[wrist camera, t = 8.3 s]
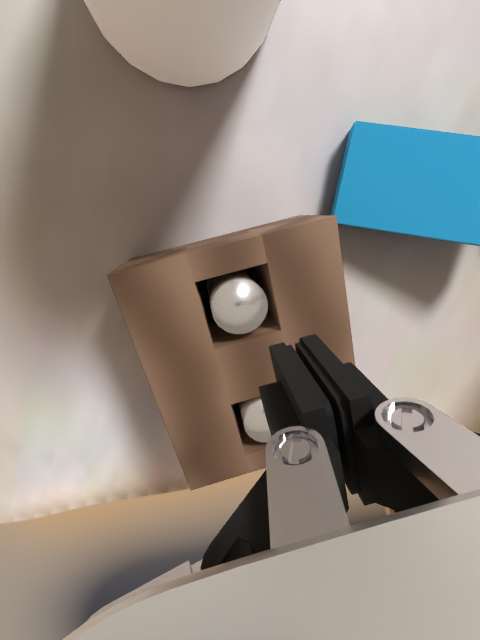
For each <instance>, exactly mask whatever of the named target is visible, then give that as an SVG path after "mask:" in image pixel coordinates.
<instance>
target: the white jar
mask: <svg viewBox="0 0 480 640" xmlns="http://www.w3.org/2000/svg"><path fill="white" fill-rule="evenodd" d="M83 1H84V2H85V4H86V6H87V8H88V10H89V11H90V13H91V15H92V17H93V18H94V20H95V22H96V24H97V26H98V27H99V29H100V31H101V33H102V34H103V36H104V38H105V39H106V40H107V41H108V42H109V43H110V44H111V45H112V46H113V47H114V48H115V49H116V50H117V51H118V52H119V53H120V54H121V55H122V56H123V57H124V58H125V59H126V60H127V62H128V63H129V64H131V65H132V66H134V67H136V68H137V69H139V70H141V71H143V72H144V73H146V74H148V75H150V76H151V77H153V78H155V79H157V80H158V81H161V82H166V83H171V84H176V85H181V86H187V87H193V86H199V85H205V84H210V83H216V82H219V81H221V80H223V79H224V78H226V77H227V76H229V75H231V74H232V73H234V72H236V71H237V70H239V69H241V68H242V67H244V65H245V64H246V63H247V62H248V61H249V59H250V58H251V57H252V56H253V54H254V53H255V52H256V51H257V49H258V48H259V47H260V46H261V44H262V43H263V42H264V40H265V37H266V35H267V32H268V30H269V27H270V25H271V23H272V20H273V18H274V15H275V13H276V10H277V8H278V6H279V3H280V1H281V0H83Z"/></svg>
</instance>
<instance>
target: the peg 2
mask: <svg viewBox="0 0 480 640" xmlns="http://www.w3.org/2000/svg"><path fill="white" fill-rule="evenodd" d="M238 403H239V407H240V411H241V415H242V419H243V424H244V428H245V431H246V433H247V434H248V436H249V437H251V438H252V439H253V440H255V441H258V442H268V441H269V439H270V438H271V433H270V430H269V427H268V423H267V420H266V416H265V412H264V408H263V404H262V401H261V397H260V396H259V397H256V398H252V399H249V400H245V401H242V402H238Z"/></svg>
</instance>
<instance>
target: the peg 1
mask: <svg viewBox="0 0 480 640" xmlns="http://www.w3.org/2000/svg"><path fill="white" fill-rule="evenodd" d="M207 291H208V296H209V301H210V306H211V311H212V315H213V318H214V320H215V322H216V323H217V325H218V326H219V327H220V328H222V329H223V330H225V331H226V332H229V333H232V334H245V333H248V332H251V331H253V330H254V329H256V328H257V327H258V326H259V325H260V324H261V323H262V322H263V320H264V319H265V317H266V314H267V310H268V302H267V298H266V295H265V293H264V291H263V290H262V289H261V288H260V286H259V285H258V284H257V283H256V282H255V281H254V280H253V279H252V278H251V277H250V276H249V275H248V274H247V273H246V272H245V271H244V270H239V271H235V272H231V273H228V274H224V275H220V276H216V277H213V278H209V279H207Z"/></svg>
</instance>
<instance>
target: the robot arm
mask: <svg viewBox="0 0 480 640" xmlns="http://www.w3.org/2000/svg"><path fill="white" fill-rule="evenodd" d="M295 349H296V351H295V350H294V348H293V347H292V345H287V346H286V344H285V343H284V342H282V343H279V344H275V345H271V346H269V351H270V356H271V360H272V364H273V369H274V373H275V377H276V382H274V383H270V384H266V385H263V386H259V387H258V388H259V393H260V397H261V401H262V404H263V408H264V412H265V416H266V420H267V423H268V427H269V430H270V433H271V438H270V439H269V441H268V442H267V444H266V450H265V454H266V470H265V472H264V473H263V474H262V476H261V477H260V479H259V480H258V481H257V482H256V484H255V485H254V487H253V488H252V489H251V490H250V492H249V493H248V494H247V496H246V497H245V498H244V500H243V501H242V502H241V504H240V505H239V506H238V508H237V509H236V510H235V512H234V513H233V514H232V516H231V517H230V518H229V520H228V521H227V522H226V524H225V525H224V526H223V528H222V529H221V530H220V532H219V533H218V535H217V536H216V537H215V538H214V540H213V541H212V542H211V544H210V545H209V547H208V549H207V550H206V552H205V554H204V557H203V559H202V560H200V561H199V562H197V563H195V564H193V565H190V563H189V561H187V562H185V563H183V564H181V565H179V566H178V567H176V568H174V569H172V570H170V571H168V572H166V573H165V574H163V575H161V576H159V577H157V578H155V579H154V580H152V581H150V582H148V583H146V584H144V585H142V586H141V587H139V588H137V589H135V590H133V591H131V592H130V593H128V594H126V595H124V596H122V597H120V598H119V599H117V600H115V601H113V602H111V603H109V604H108V605H106V606H104V607H102V608H101V609H100V610H98V611H97V612H96V613H94V614H93V615H91V616H90V618H89V619H88V620H87V621H86V622H85V623H84V624H83V625H81V626H80V627H79V628H77V629H76V630H74V631H73V632H72V633H70V634H69V635H68V636H66V637H65V638H63V639H62V640H480V433H475V432H472V431H470V430H469V429H467V428H466V427H464V426H463V425H461V424H460V423H458V422H456V421H455V420H453V419H452V418H450V417H449V416H447V415H446V414H444V413H443V412H441V411H439V410H438V409H436V408H435V407H433V406H432V405H430V404H428V403H426V402H424V401H421V400H417V399H413V398H394V399H390V400H388V399H387V398H386V397H385V396H384V395H383V394H382V393H381V392H380V391H379V390H378V389H377V388H376V387H375V386H374V385H373V384H372V383H371V382H370V381H369V380H368V379H367V378H366V376H365V375H364V374H363V373H362V372H361V371H360V370H359V369H358V368H357V367H356V366H355V365H354V364H352V363H351V362H348V363H344V364H343V363H342V362H341V361H340V360H339V359H338V358H337V356H336V355H335V354H334V353H333V352H332V351H331V350H330V349H329V348H328V347H327V346H326V345H325V344H324V342H323V341H322V340H321V339H320V338H319V337H318V336H317V335H316V334H312V335H309V336H305V337H301V338H300V339H299V342H298V343H295ZM345 484H346V486H347V487H348V489H349V491H350V492H351V494H356V493H358V495H359V497H360V498H361V500H362V502H363V504H364V505H369V504H372V503H377V504H380V505H382V506H385V509H386V513H387V515H386V516H383V517H379V518H376V519H372V520H369V521H366V522H362V523H358V524H355V525H352V526H350V524H349V521H348V518H347V514H346V513H347V511H348V509H349V506H348V500H347V493H346V488H345Z"/></svg>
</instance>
